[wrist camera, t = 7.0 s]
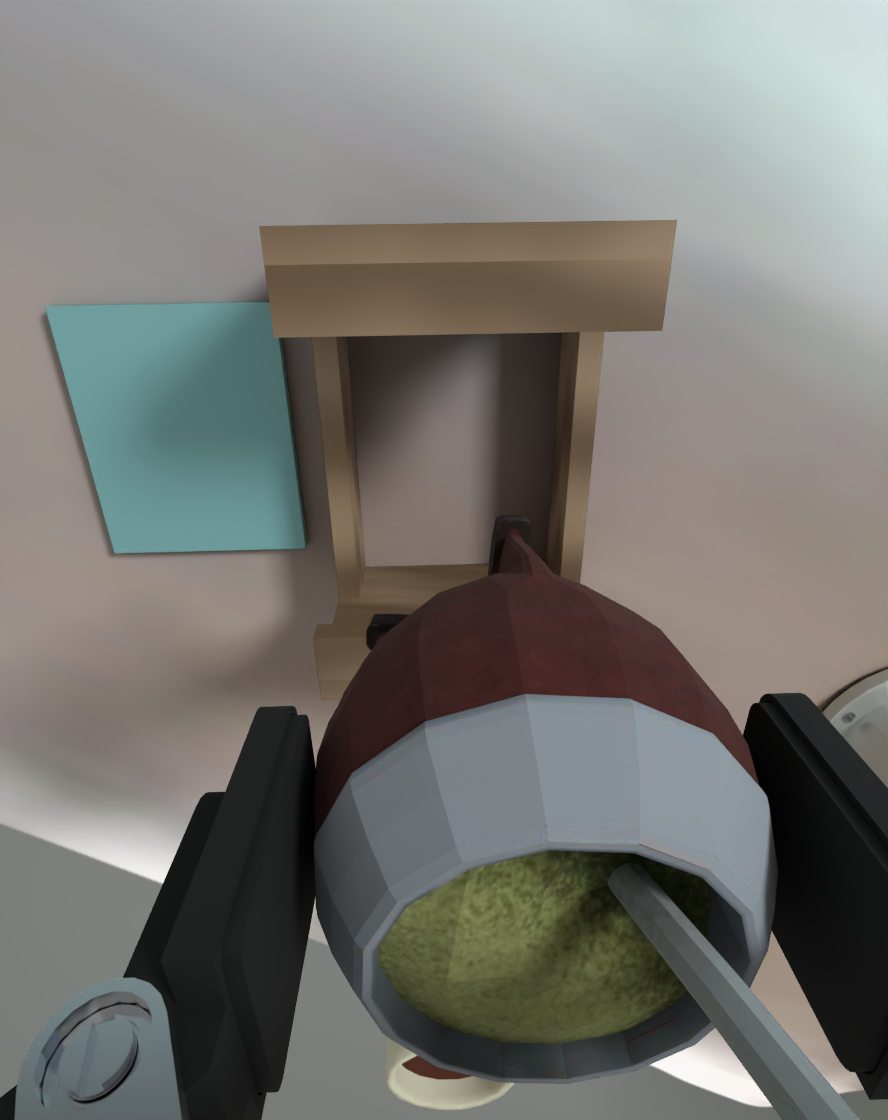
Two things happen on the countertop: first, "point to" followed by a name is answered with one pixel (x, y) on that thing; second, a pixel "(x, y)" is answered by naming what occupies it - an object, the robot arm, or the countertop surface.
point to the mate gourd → (548, 842)
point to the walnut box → (442, 309)
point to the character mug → (435, 1083)
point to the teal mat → (184, 424)
